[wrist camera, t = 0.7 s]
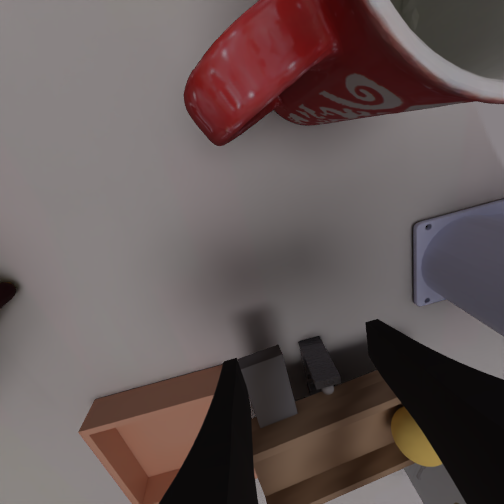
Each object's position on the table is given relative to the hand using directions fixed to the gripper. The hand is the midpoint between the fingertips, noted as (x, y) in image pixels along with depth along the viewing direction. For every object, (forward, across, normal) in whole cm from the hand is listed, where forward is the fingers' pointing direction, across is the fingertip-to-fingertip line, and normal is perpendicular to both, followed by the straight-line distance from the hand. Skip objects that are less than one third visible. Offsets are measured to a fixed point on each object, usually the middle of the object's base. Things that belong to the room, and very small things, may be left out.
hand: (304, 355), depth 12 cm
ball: (+3, -8, +14) cm, 16 cm away
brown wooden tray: (+6, -2, +11) cm, 13 cm away
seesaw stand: (+9, -2, +14) cm, 17 cm away
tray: (+9, +12, +14) cm, 21 cm away
